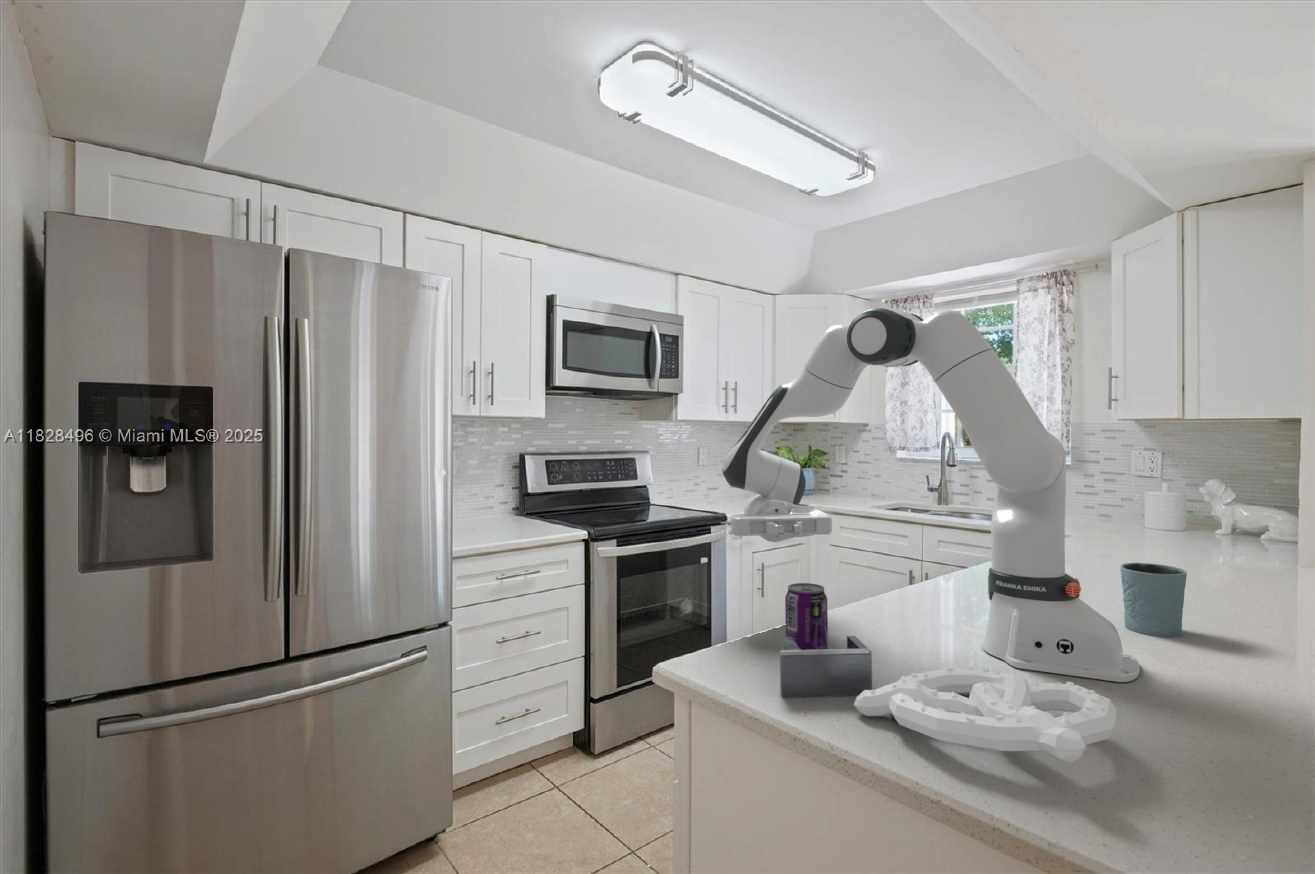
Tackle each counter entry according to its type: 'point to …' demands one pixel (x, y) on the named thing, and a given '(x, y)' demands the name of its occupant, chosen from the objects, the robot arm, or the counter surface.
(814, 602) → the beverage can
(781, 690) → the grey u-shaped holder
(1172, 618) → the teal embossed flower pot
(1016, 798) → the counter surface
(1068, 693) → the pretzel
